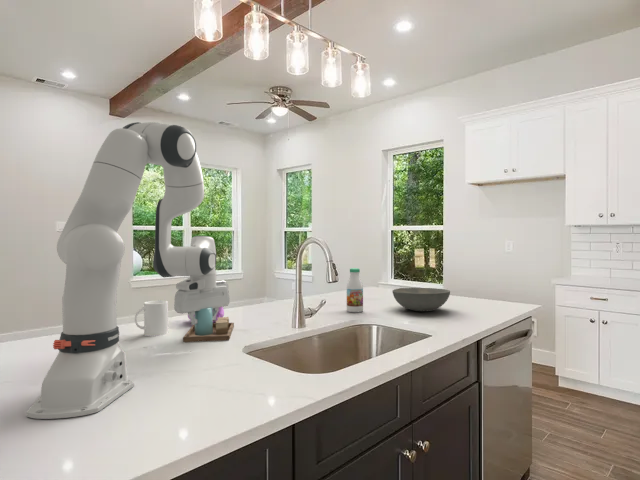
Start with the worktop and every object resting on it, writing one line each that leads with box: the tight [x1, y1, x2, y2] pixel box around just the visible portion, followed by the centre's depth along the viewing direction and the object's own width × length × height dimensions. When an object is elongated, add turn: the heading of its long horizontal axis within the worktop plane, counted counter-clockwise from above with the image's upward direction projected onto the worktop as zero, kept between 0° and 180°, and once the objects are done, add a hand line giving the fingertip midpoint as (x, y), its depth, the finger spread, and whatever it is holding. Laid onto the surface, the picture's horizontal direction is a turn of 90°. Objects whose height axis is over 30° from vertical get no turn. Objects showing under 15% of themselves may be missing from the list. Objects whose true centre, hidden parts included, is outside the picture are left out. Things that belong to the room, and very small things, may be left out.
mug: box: [134, 299, 169, 337], centre depth 144 cm, size 12×8×12 cm
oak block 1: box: [218, 316, 230, 330], centre depth 151 cm, size 4×4×4 cm
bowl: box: [392, 287, 451, 312], centre depth 188 cm, size 26×26×10 cm
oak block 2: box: [215, 320, 228, 334], centre depth 146 cm, size 4×4×4 cm
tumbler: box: [195, 307, 214, 336], centre depth 138 cm, size 6×6×9 cm
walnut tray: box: [182, 322, 235, 343], centre depth 144 cm, size 20×15×2 cm
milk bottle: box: [346, 267, 364, 313], centre depth 186 cm, size 8×8×20 cm
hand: (203, 322), depth 138 cm, fingers closed on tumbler, 6 cm apart
